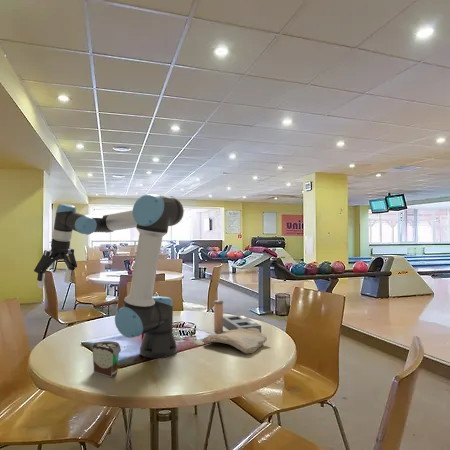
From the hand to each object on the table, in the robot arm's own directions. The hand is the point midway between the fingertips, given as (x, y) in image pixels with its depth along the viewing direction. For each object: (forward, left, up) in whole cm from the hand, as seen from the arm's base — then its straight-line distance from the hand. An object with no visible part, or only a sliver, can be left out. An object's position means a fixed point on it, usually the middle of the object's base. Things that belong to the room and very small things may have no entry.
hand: (53, 285), depth 161 cm
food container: (-41, -22, -27) cm, 54 cm away
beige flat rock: (-28, -76, -27) cm, 85 cm away
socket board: (-4, -88, -26) cm, 92 cm away
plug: (-4, -76, -26) cm, 81 cm away
